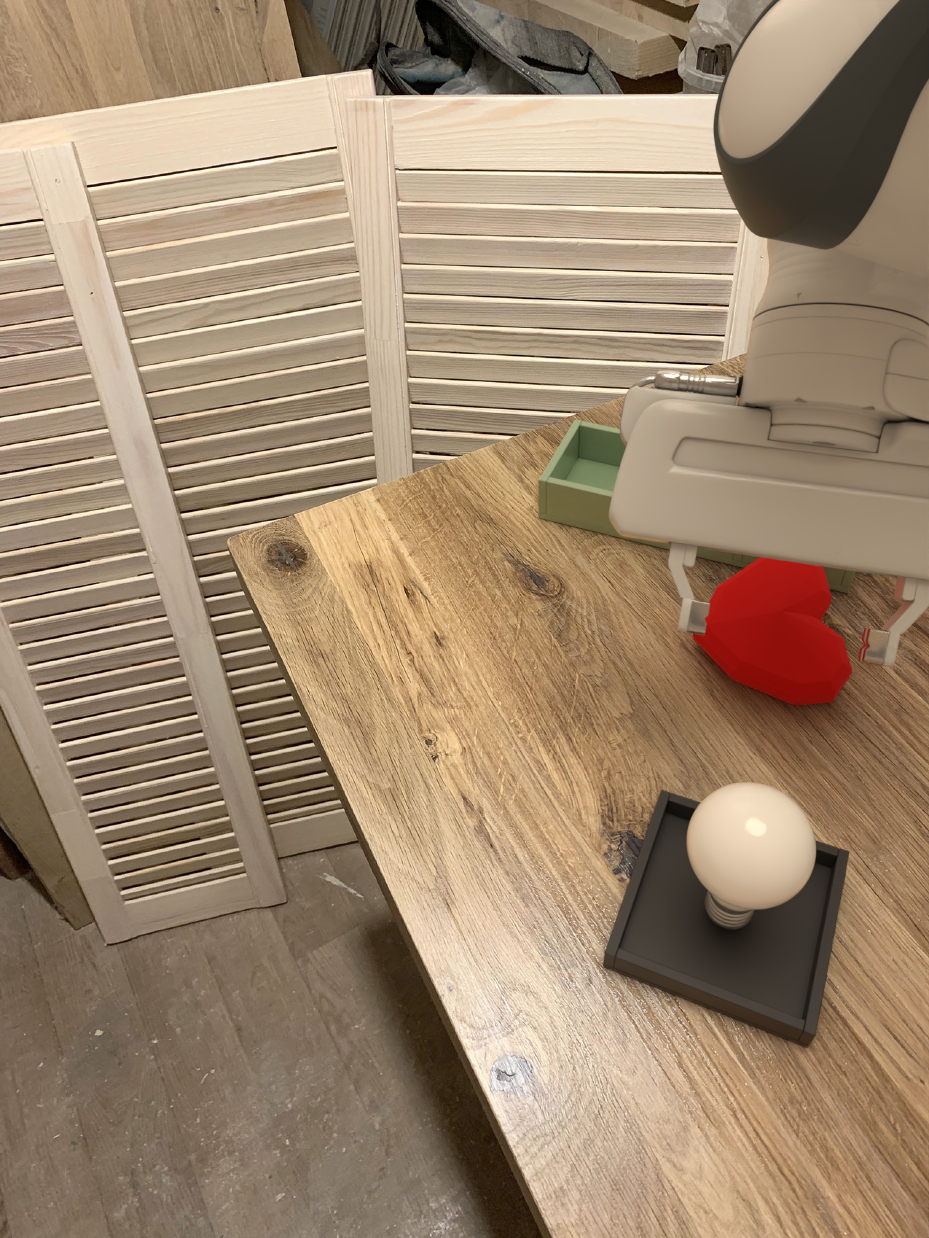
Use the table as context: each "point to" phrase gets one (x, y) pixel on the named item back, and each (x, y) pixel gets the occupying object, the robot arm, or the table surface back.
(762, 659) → the heart
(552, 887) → the table surface
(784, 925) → the tray
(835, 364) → the robot arm
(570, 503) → the green compartment box
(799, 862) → the lightbulb
